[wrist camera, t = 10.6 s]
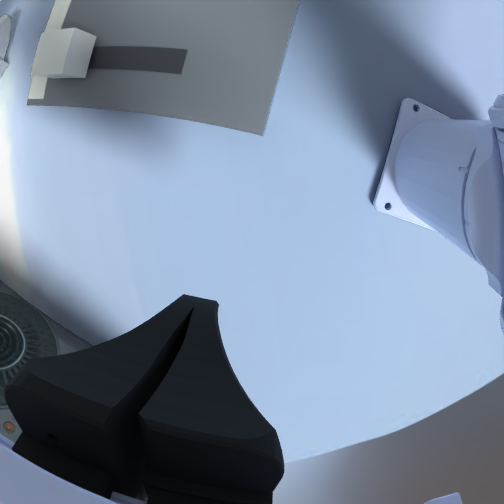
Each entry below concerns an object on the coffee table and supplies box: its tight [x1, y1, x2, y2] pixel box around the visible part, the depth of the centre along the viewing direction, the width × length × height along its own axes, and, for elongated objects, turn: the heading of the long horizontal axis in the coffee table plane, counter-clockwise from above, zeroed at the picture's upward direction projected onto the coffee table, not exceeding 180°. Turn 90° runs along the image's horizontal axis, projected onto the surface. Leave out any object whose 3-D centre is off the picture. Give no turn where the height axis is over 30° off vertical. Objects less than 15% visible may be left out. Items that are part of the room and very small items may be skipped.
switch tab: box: [30, 28, 97, 78], centre depth 13 cm, size 3×3×3 cm
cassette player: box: [0, 281, 147, 502], centre depth 18 cm, size 29×7×20 cm, turn 63°
